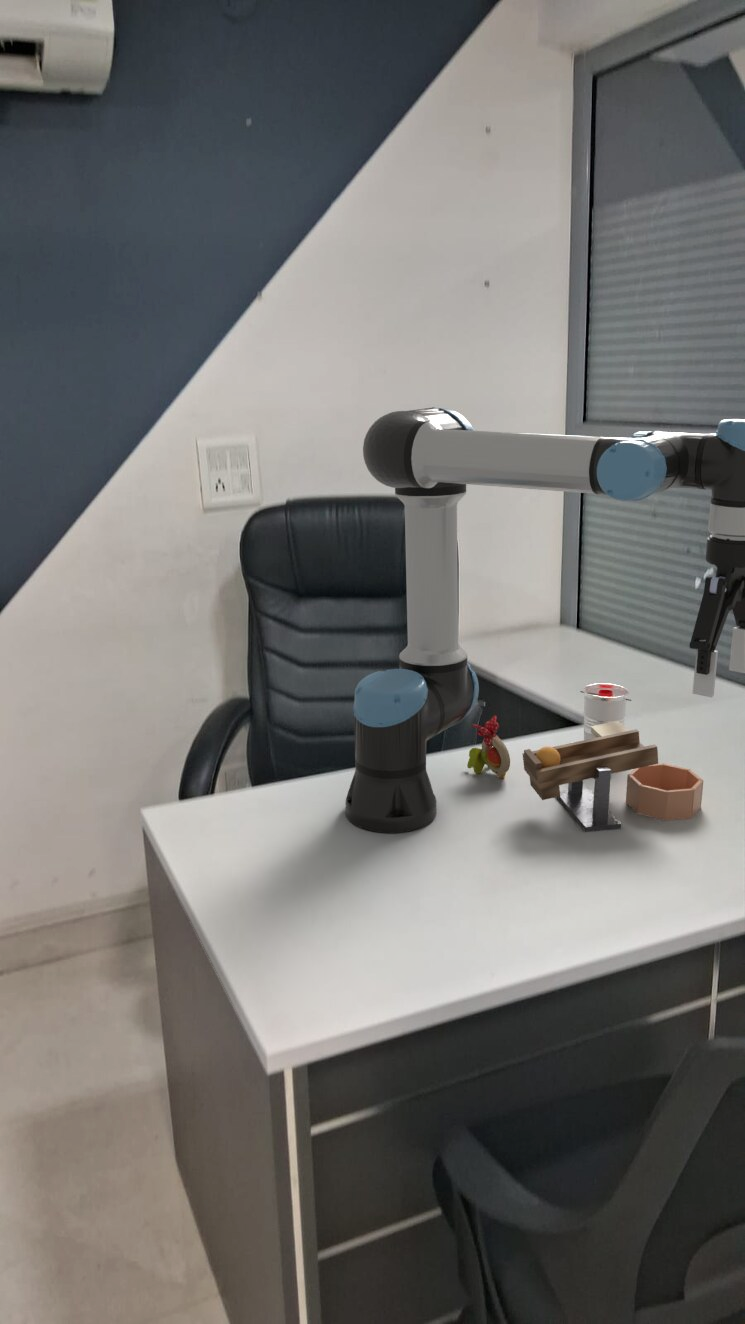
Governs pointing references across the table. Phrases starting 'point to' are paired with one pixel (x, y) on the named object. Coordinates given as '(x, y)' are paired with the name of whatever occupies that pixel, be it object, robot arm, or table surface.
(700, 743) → the table surface
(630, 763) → the lever
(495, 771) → the bird rattle
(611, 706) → the white ridged hollow cylinder
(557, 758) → the ball
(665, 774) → the terracotta octagonal bowl
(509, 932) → the table surface
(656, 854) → the table surface
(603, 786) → the lever stand
